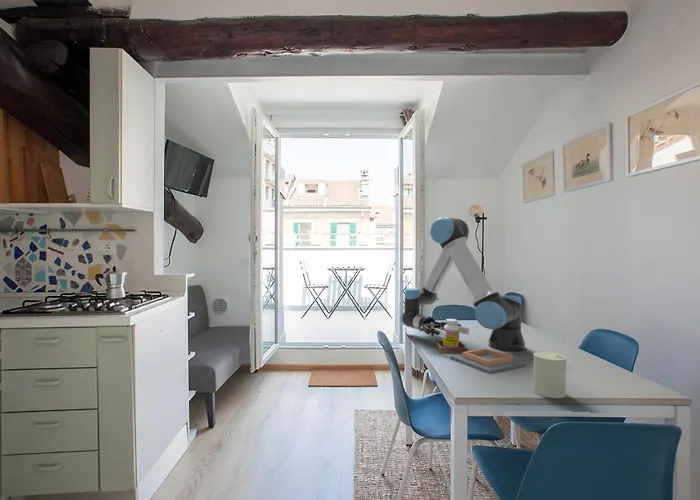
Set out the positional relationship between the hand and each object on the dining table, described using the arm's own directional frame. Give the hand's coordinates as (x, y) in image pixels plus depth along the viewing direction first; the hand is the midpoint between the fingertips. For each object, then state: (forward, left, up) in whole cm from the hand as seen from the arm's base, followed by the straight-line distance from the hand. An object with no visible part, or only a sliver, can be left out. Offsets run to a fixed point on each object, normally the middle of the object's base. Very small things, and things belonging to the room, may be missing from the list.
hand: (457, 333), depth 165 cm
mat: (-15, +7, -8) cm, 18 cm away
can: (-40, +27, -8) cm, 48 cm away
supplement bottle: (+3, -1, -8) cm, 9 cm away
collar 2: (-15, +7, -8) cm, 18 cm away
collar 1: (+3, -1, -8) cm, 9 cm away
